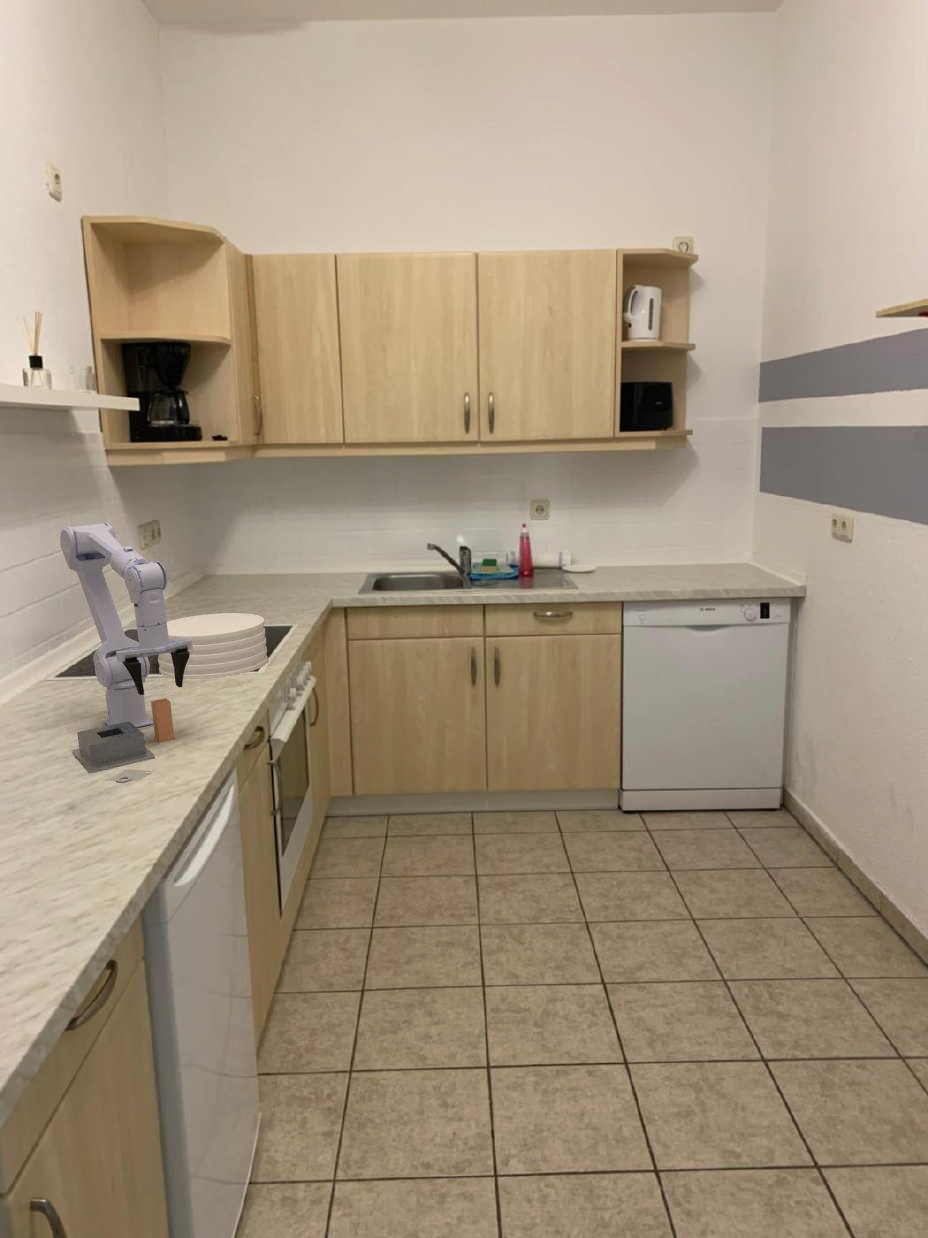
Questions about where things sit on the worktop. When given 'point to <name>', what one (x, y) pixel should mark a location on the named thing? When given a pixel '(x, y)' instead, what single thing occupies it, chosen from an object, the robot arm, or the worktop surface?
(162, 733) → the tan rectangular block
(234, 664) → the plate stack
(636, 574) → the worktop surface
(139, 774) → the mounting bracket
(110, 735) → the slotted block
